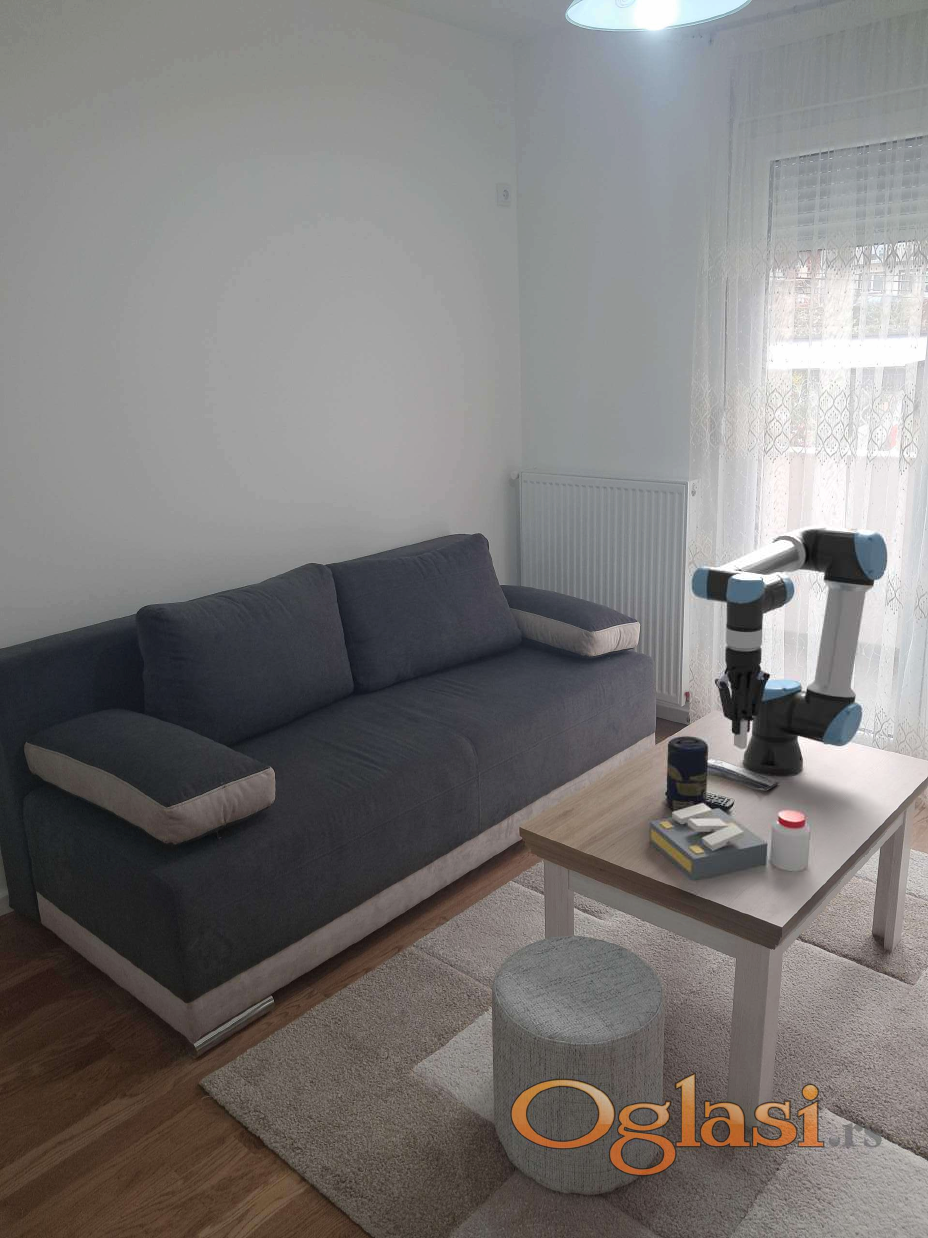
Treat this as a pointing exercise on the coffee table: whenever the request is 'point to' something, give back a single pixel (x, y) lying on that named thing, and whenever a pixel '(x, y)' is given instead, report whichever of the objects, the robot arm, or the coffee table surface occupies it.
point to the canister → (686, 772)
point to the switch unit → (706, 848)
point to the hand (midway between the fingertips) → (740, 746)
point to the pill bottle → (790, 841)
